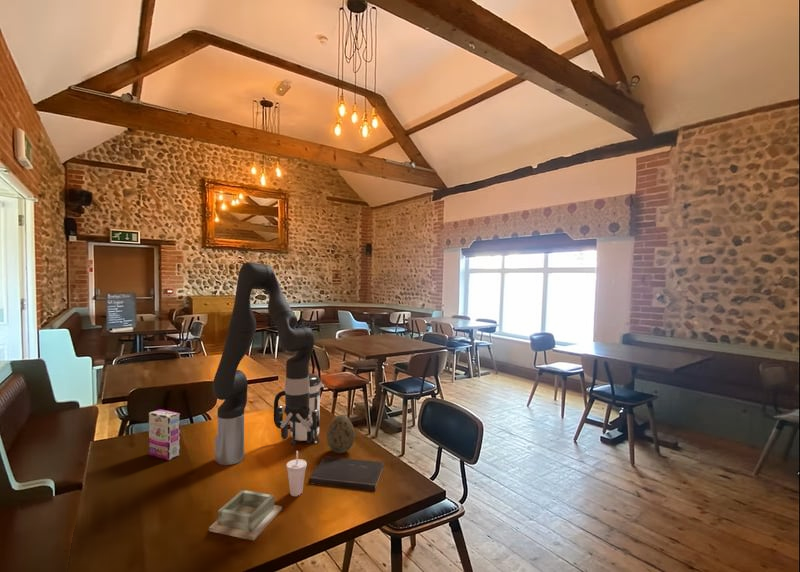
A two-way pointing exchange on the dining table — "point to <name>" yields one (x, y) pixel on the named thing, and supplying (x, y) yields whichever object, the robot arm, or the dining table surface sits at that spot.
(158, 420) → the candy bar box
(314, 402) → the coffee press
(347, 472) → the hardcover book
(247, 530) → the green glass shallow box
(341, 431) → the decorative egg
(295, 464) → the smoothie
